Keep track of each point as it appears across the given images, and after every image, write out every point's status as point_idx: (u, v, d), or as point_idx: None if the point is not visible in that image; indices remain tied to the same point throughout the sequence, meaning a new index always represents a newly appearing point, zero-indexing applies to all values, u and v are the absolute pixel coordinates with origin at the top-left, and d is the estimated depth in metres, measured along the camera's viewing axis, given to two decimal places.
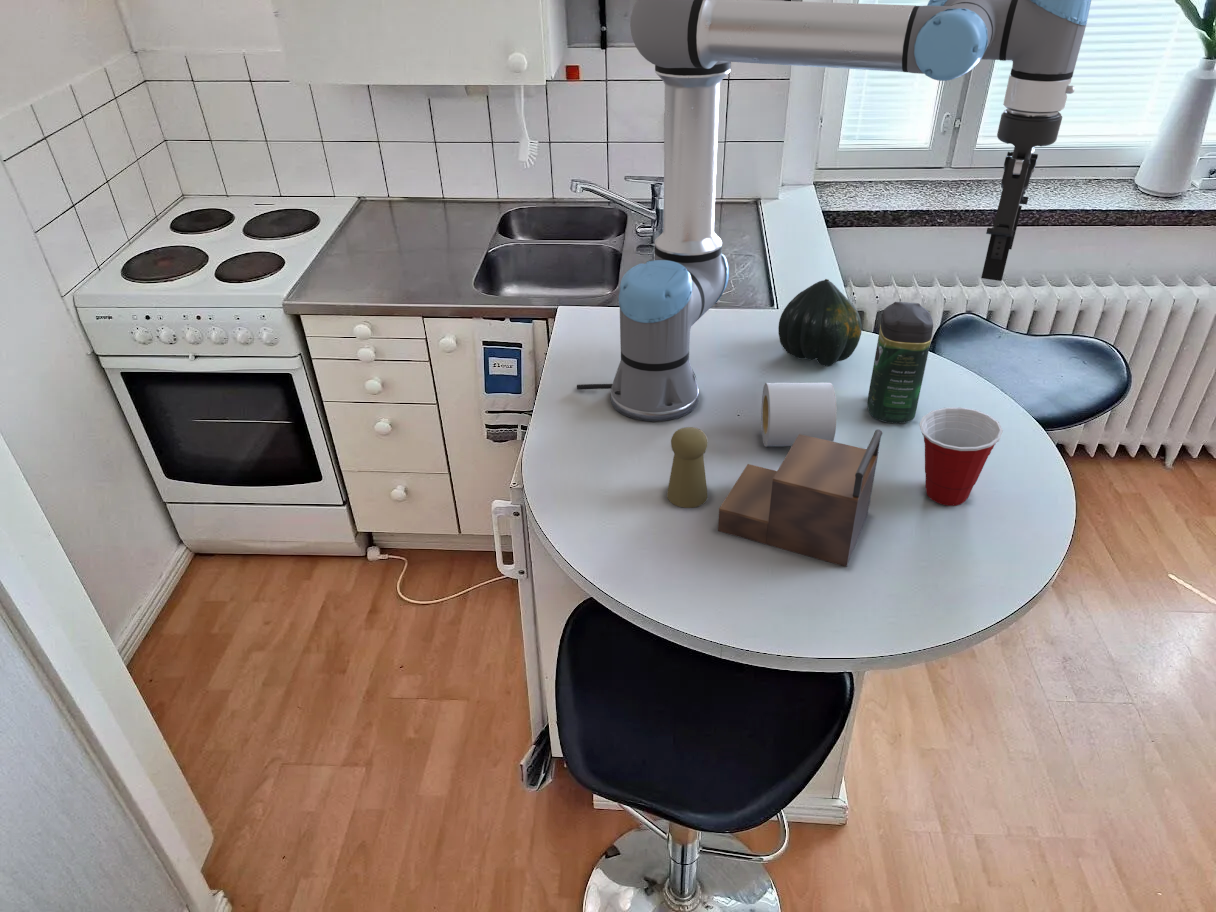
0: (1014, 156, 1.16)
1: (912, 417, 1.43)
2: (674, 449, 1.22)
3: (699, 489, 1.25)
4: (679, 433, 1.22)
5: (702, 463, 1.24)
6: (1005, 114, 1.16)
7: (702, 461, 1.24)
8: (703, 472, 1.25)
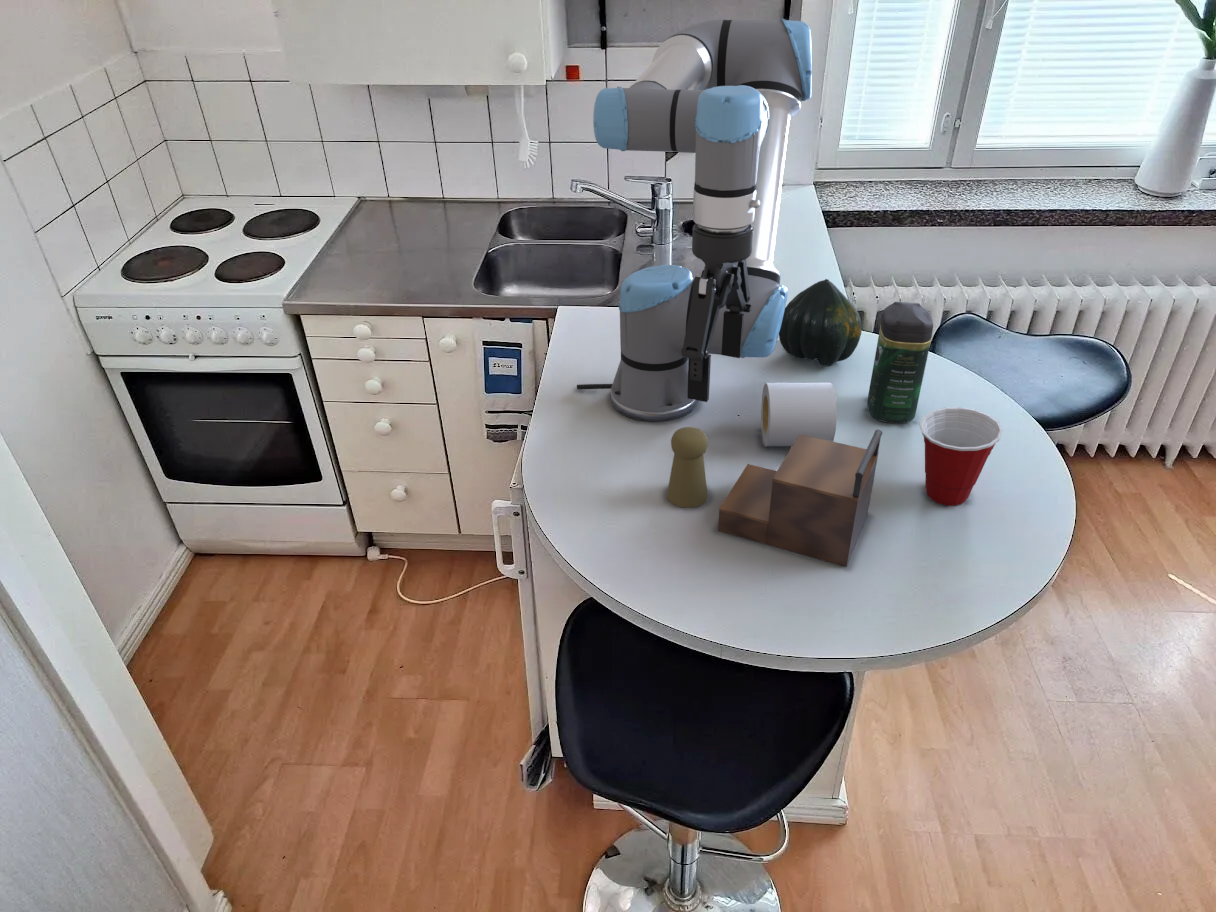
0: (704, 273, 1.07)
1: (912, 417, 1.43)
2: (674, 449, 1.22)
3: (699, 489, 1.25)
4: (679, 433, 1.22)
5: (702, 463, 1.24)
6: (694, 227, 1.07)
7: (702, 461, 1.24)
8: (703, 472, 1.25)
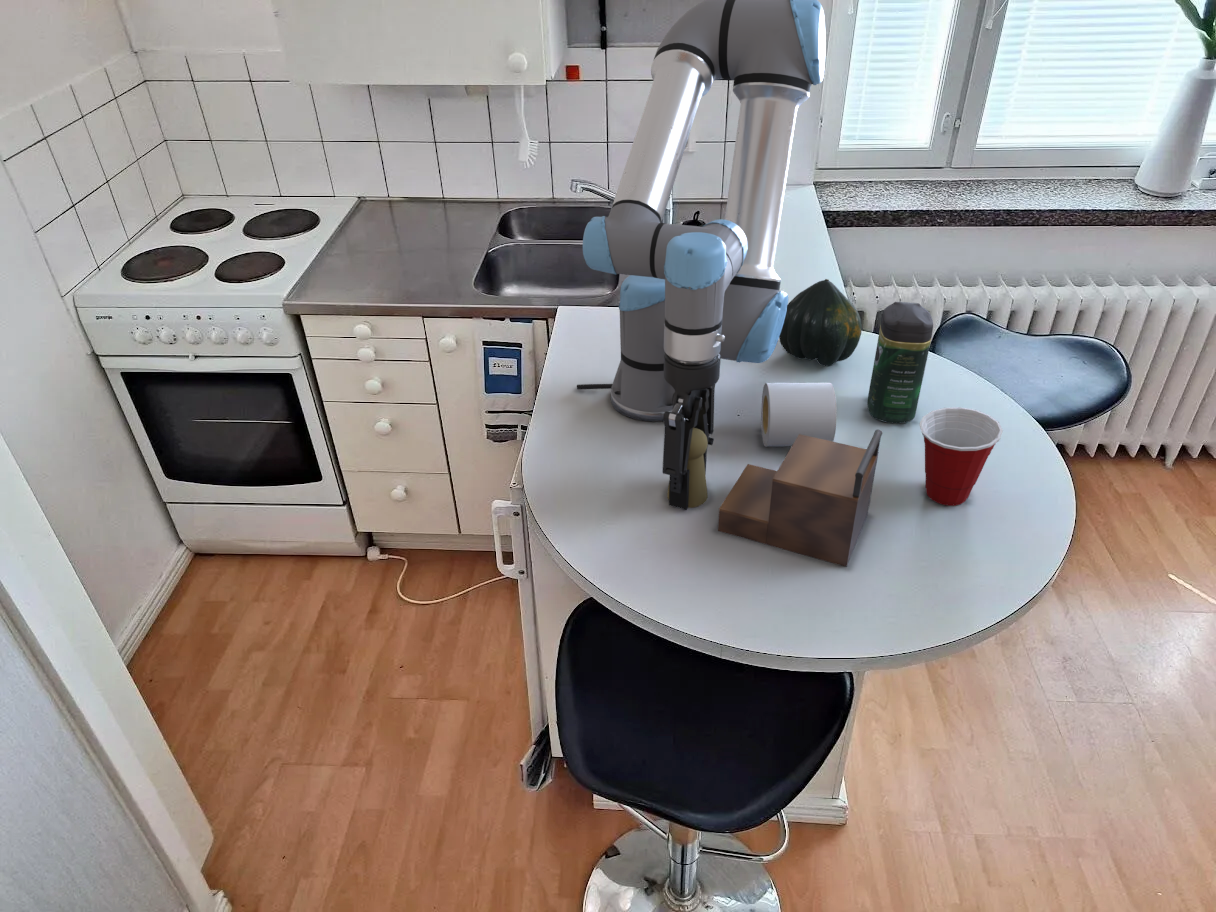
0: (673, 401, 1.16)
1: (912, 417, 1.43)
2: None
3: (699, 489, 1.25)
4: None
5: (702, 463, 1.24)
6: (665, 356, 1.16)
7: (702, 461, 1.24)
8: (703, 472, 1.25)
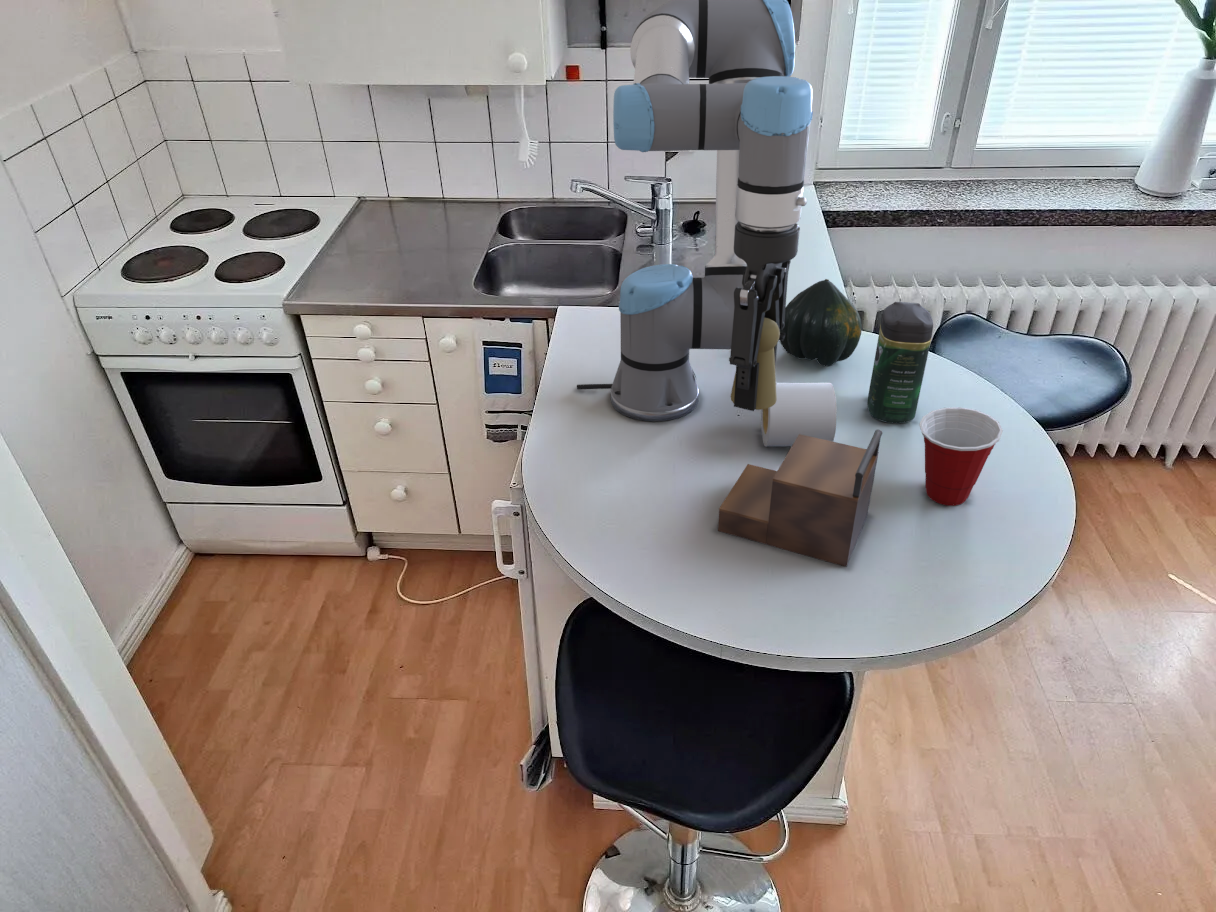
0: (745, 277, 1.02)
1: (912, 417, 1.43)
2: None
3: (768, 388, 1.11)
4: None
5: (772, 358, 1.10)
6: (737, 226, 1.02)
7: (773, 355, 1.10)
8: (773, 369, 1.11)
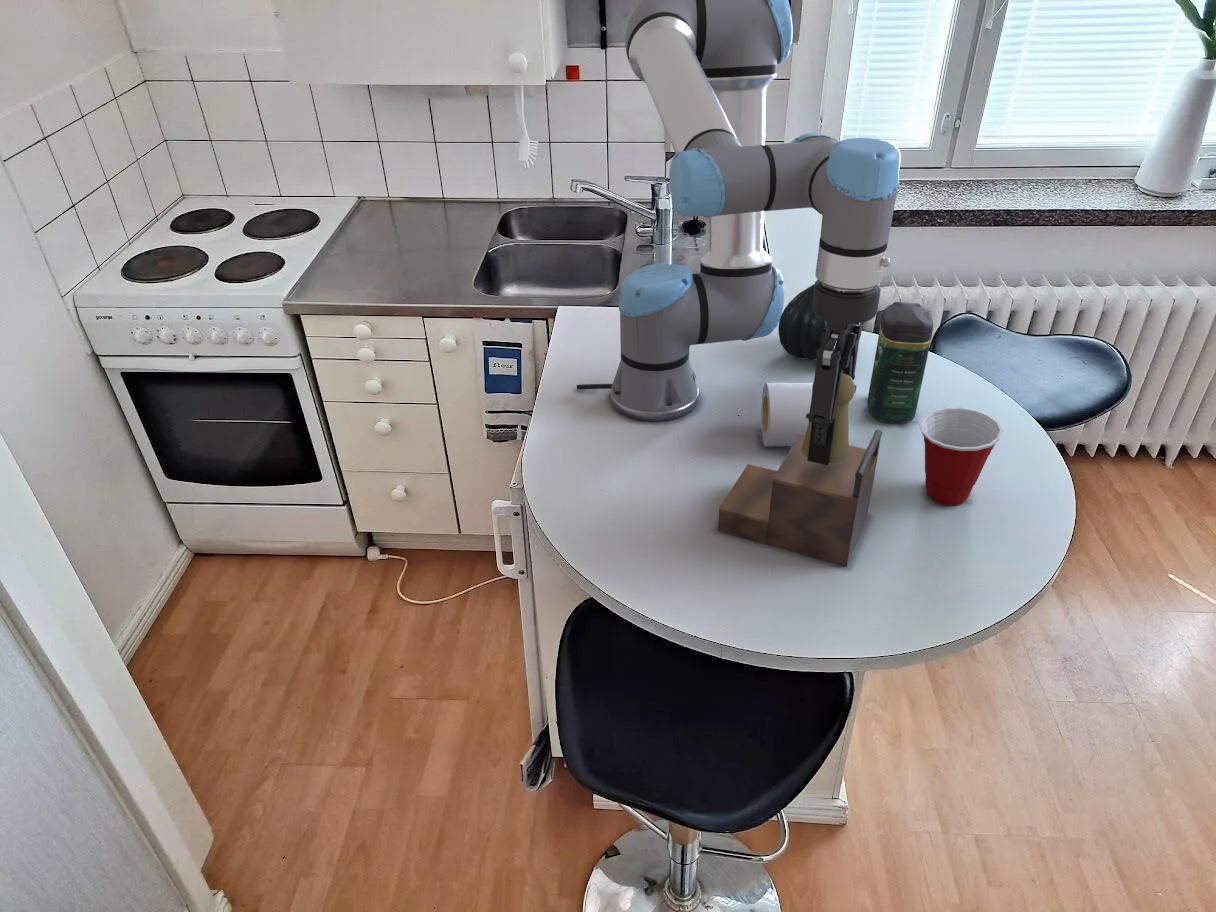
0: (826, 337, 1.01)
1: (912, 417, 1.43)
2: None
3: (842, 442, 1.10)
4: None
5: (847, 412, 1.09)
6: (817, 285, 1.01)
7: (847, 410, 1.09)
8: (847, 422, 1.10)
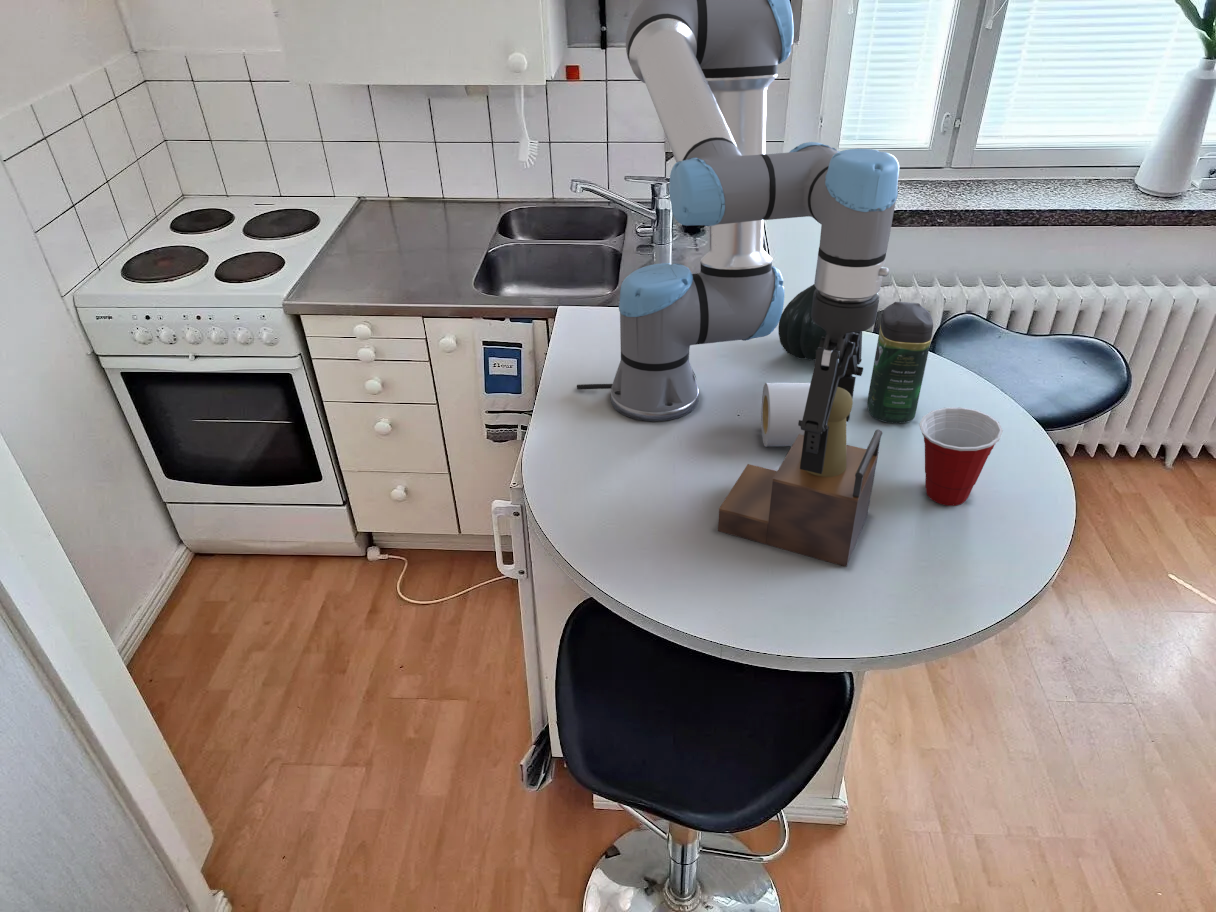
0: (826, 342, 1.02)
1: (912, 417, 1.43)
2: None
3: (840, 456, 1.12)
4: None
5: (845, 426, 1.11)
6: (816, 294, 1.02)
7: (845, 424, 1.10)
8: (845, 436, 1.11)
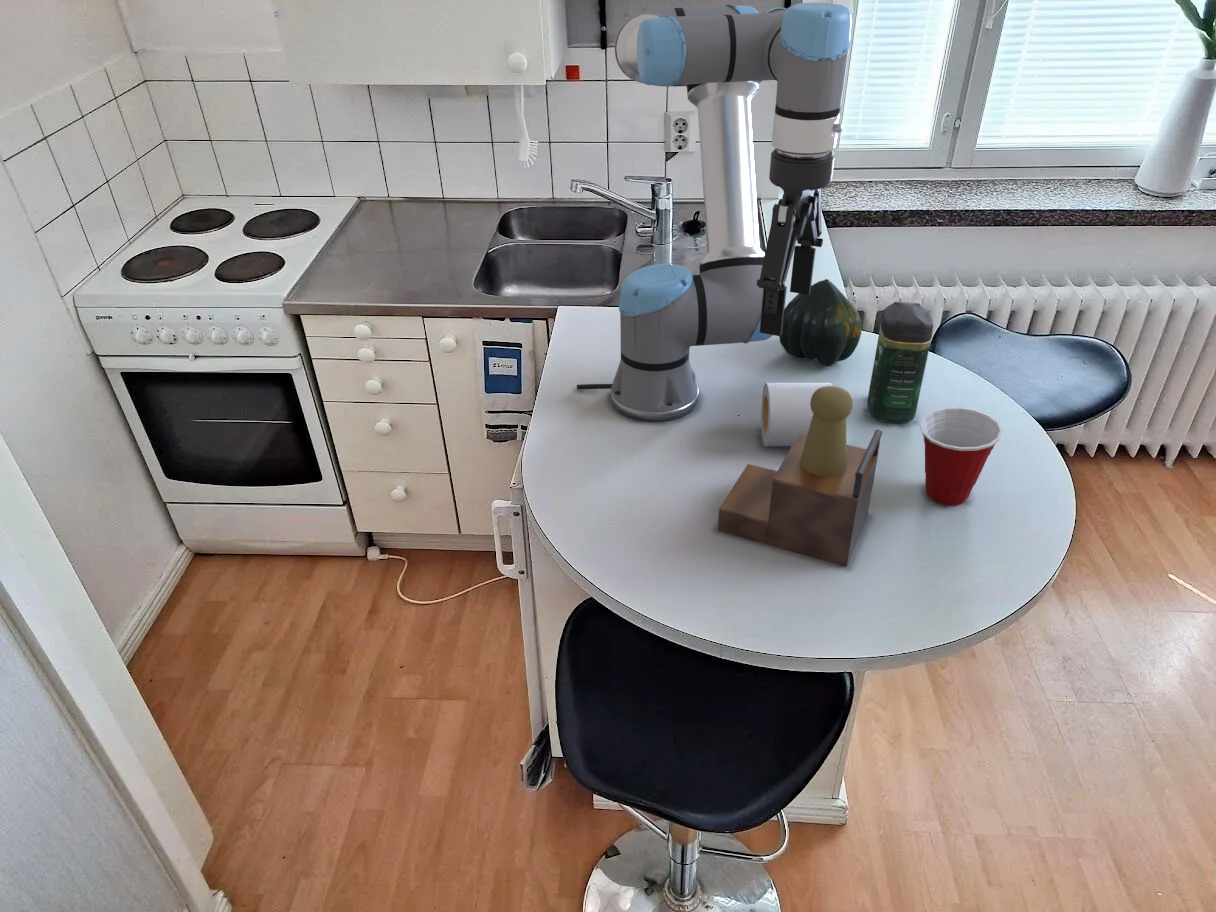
0: (783, 201, 1.04)
1: (912, 417, 1.43)
2: (816, 410, 1.09)
3: (840, 456, 1.12)
4: (821, 392, 1.09)
5: (845, 426, 1.11)
6: (773, 154, 1.04)
7: (845, 424, 1.10)
8: (845, 436, 1.11)
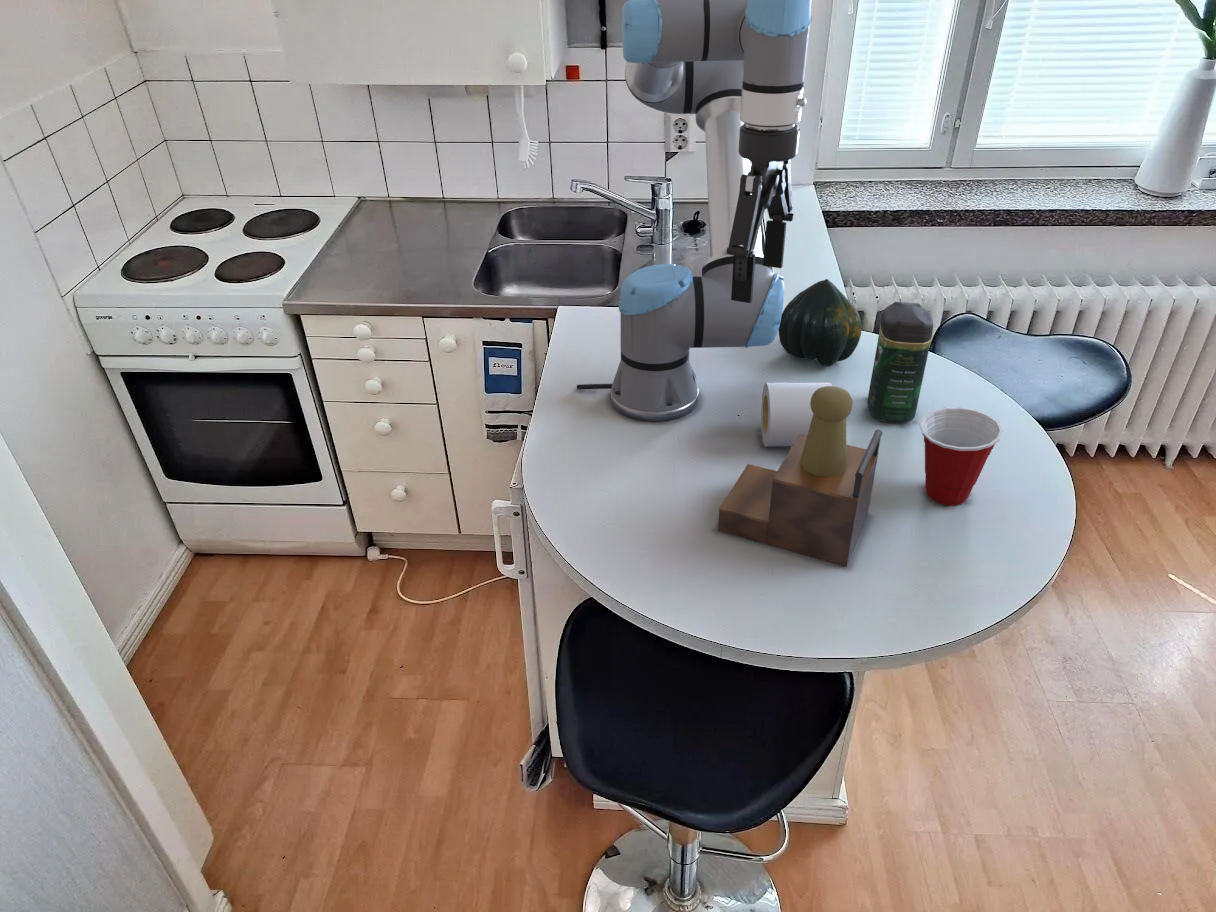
0: (751, 172, 1.10)
1: (912, 417, 1.43)
2: (816, 410, 1.09)
3: (840, 456, 1.12)
4: (821, 392, 1.09)
5: (845, 426, 1.11)
6: (741, 128, 1.10)
7: (845, 424, 1.10)
8: (845, 436, 1.11)
